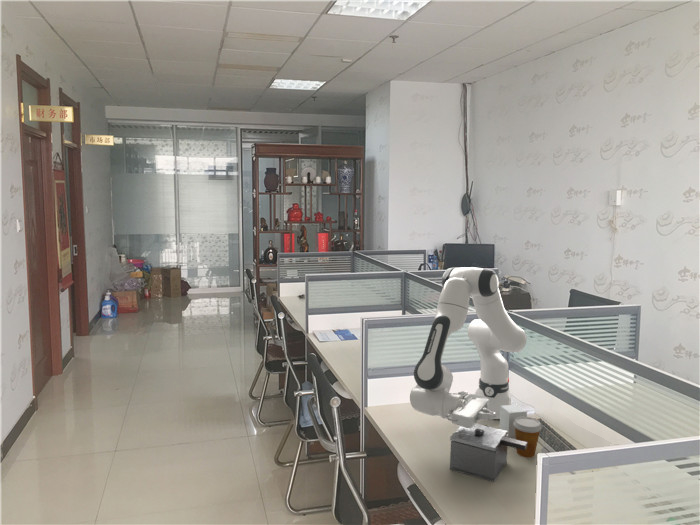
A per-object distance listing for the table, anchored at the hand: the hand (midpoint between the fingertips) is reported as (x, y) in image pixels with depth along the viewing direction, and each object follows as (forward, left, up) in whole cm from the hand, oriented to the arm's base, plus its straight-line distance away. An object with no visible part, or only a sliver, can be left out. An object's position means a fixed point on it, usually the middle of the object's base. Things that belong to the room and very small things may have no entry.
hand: (494, 416), depth 188 cm
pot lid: (0, -1, -9) cm, 9 cm away
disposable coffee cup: (-18, +7, -19) cm, 27 cm away
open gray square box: (0, -4, -19) cm, 19 cm away
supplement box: (-26, 0, -19) cm, 32 cm away
